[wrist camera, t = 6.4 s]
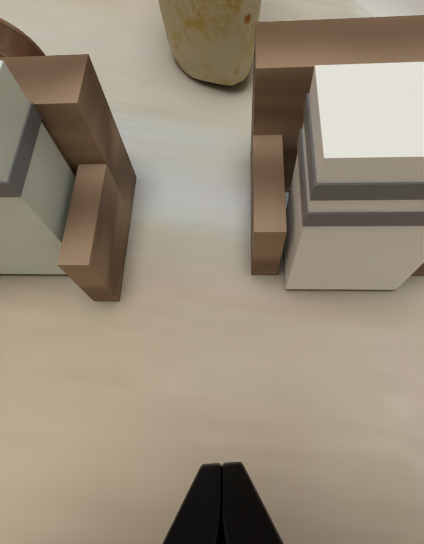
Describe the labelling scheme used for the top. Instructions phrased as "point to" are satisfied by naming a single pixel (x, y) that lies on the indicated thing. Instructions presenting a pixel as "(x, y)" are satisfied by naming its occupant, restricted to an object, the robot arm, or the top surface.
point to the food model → (212, 37)
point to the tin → (16, 42)
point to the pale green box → (29, 186)
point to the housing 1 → (84, 167)
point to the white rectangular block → (358, 179)
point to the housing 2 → (291, 99)
